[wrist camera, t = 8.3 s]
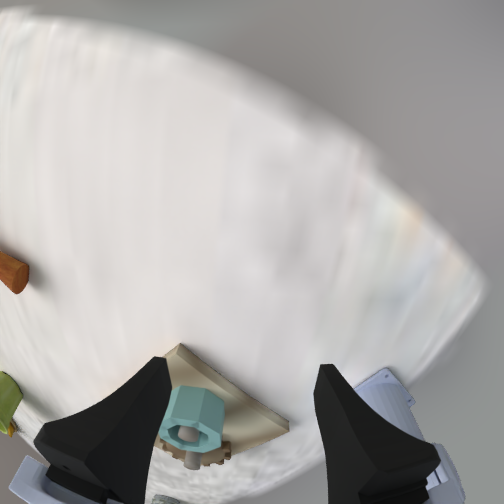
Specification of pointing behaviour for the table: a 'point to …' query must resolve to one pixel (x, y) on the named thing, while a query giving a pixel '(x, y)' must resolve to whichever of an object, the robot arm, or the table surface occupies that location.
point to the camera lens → (164, 500)
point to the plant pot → (8, 400)
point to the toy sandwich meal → (12, 428)
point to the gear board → (236, 413)
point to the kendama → (13, 273)
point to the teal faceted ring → (194, 418)
